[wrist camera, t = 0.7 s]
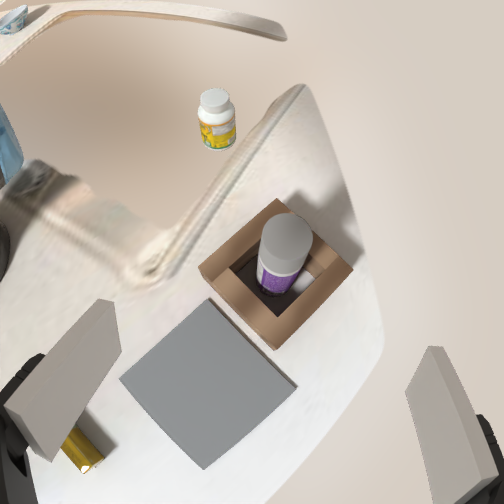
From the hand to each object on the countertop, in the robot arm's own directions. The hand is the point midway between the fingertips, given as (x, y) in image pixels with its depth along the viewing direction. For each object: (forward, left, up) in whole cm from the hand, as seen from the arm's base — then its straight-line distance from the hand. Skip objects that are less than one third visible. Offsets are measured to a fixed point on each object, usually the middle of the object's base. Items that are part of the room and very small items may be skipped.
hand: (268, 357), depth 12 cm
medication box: (-9, -27, -28) cm, 40 cm away
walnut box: (-6, +9, -28) cm, 30 cm away
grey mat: (-2, -7, -28) cm, 29 cm away
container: (-6, +9, -28) cm, 30 cm away
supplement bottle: (-28, +19, -28) cm, 44 cm away
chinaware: (-134, +7, -28) cm, 137 cm away
